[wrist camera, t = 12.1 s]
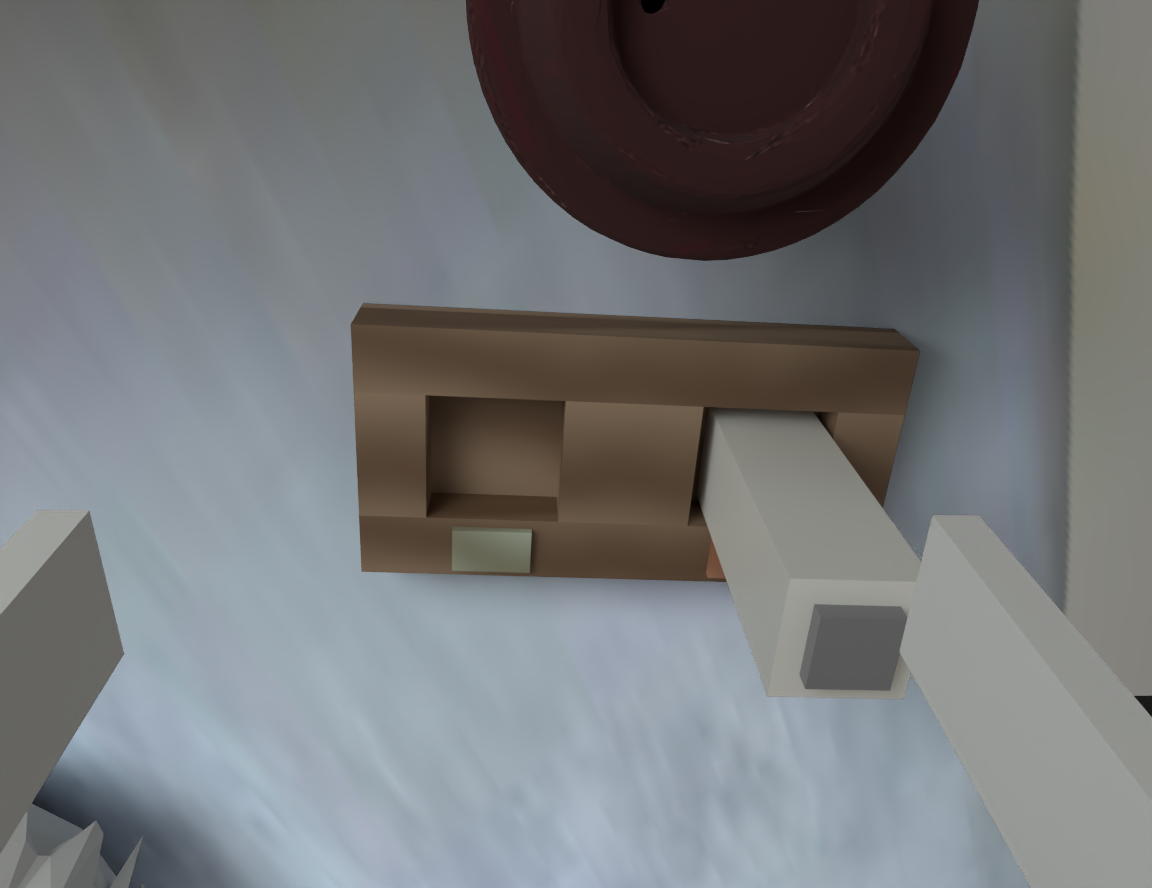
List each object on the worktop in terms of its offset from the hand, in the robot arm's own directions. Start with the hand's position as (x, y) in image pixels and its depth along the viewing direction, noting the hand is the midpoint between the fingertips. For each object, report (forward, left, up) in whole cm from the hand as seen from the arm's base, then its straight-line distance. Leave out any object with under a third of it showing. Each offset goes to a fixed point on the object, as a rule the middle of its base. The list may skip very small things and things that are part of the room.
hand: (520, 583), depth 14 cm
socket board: (+7, +4, -20) cm, 22 cm away
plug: (+7, +9, -20) cm, 23 cm away
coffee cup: (-9, +3, -20) cm, 22 cm away
